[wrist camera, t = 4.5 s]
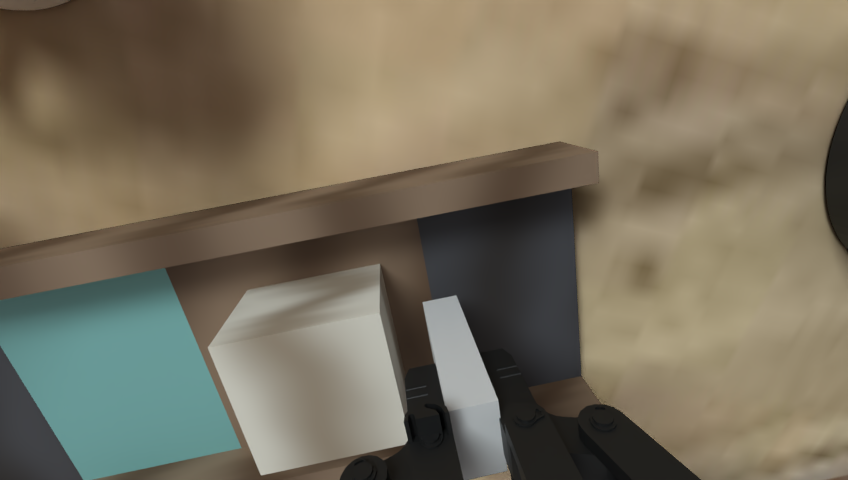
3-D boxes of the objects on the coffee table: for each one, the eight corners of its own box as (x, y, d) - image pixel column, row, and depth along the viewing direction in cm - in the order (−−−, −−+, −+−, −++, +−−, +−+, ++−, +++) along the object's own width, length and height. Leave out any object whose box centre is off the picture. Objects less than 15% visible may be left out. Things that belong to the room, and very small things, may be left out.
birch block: (380, 263, 19) (379, 312, 14) (404, 372, 21) (410, 443, 16) (247, 289, 18) (207, 347, 14) (285, 397, 20) (261, 475, 16)
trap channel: (559, 141, 19) (597, 151, 15) (573, 382, 23) (605, 429, 20) (-173, 281, 18) (-301, 324, 14) (-7, 505, 22) (-74, 576, 19)
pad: (169, 243, 18) (158, 251, 18) (247, 433, 22) (241, 447, 21) (-14, 279, 18) (-35, 289, 17) (97, 464, 22) (84, 481, 21)
